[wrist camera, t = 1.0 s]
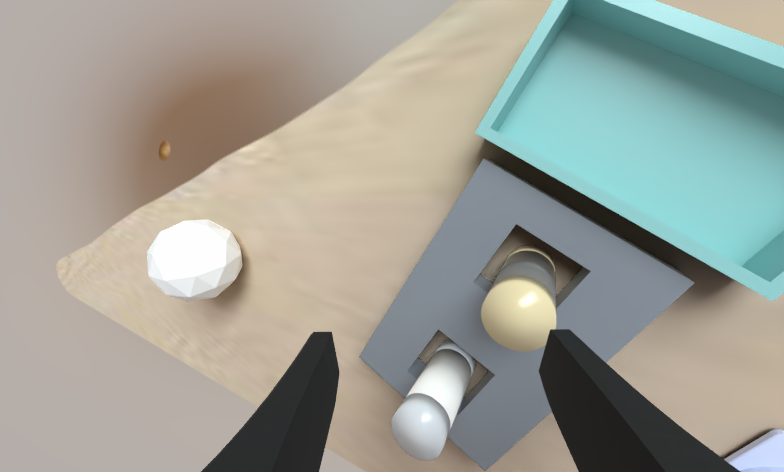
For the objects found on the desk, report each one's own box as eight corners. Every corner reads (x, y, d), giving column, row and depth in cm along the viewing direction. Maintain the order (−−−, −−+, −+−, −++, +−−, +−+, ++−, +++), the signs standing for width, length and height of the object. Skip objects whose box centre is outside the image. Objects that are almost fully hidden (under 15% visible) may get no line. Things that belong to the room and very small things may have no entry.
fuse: (483, 358, 23) (453, 440, 16) (461, 383, 24) (424, 470, 17) (450, 331, 24) (406, 398, 17) (430, 357, 25) (382, 429, 18)
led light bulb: (566, 264, 19) (573, 316, 12) (535, 299, 21) (526, 365, 14) (523, 236, 20) (506, 271, 13) (496, 271, 21) (468, 320, 14)
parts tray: (908, 134, 13) (999, 124, 10) (736, 280, 16) (772, 301, 13) (568, 1, 17) (571, -30, 14) (484, 137, 20) (474, 132, 18)
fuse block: (680, 271, 17) (695, 282, 15) (489, 449, 24) (484, 471, 22) (489, 159, 20) (483, 158, 19) (371, 344, 27) (359, 356, 26)
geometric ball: (241, 243, 37) (158, 228, 33) (257, 219, 31) (158, 197, 27) (229, 309, 34) (136, 301, 30) (244, 296, 28) (131, 285, 24)
